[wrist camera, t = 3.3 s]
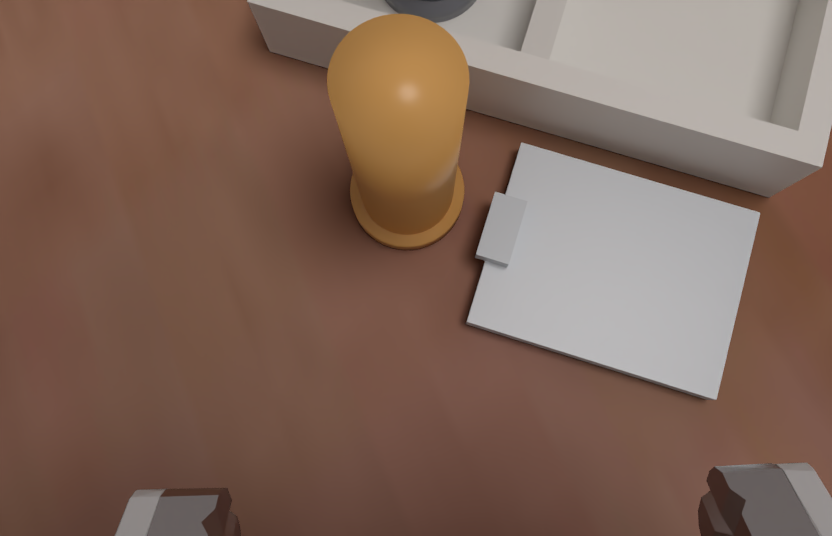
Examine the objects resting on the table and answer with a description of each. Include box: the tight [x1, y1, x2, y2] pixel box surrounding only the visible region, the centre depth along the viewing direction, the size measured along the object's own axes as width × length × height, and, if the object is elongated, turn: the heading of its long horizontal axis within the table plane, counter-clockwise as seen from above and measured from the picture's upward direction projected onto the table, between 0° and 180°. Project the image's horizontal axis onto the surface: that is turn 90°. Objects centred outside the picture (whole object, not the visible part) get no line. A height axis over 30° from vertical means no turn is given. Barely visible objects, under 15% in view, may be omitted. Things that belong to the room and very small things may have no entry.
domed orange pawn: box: [327, 14, 470, 250], centre depth 21 cm, size 4×4×10 cm
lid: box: [466, 142, 760, 400], centre depth 25 cm, size 9×7×1 cm
